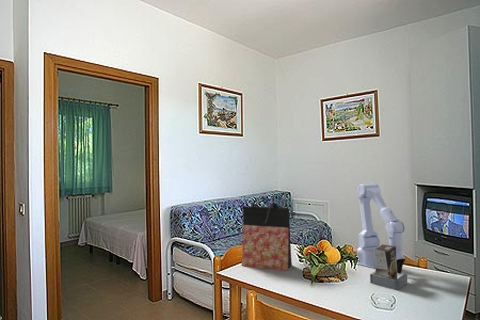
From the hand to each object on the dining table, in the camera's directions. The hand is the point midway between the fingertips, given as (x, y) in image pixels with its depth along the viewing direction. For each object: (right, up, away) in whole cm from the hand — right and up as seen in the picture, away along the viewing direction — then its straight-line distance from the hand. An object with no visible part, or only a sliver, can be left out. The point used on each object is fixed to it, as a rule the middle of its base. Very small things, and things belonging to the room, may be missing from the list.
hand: (396, 274), depth 148 cm
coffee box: (-7, -1, -6) cm, 9 cm away
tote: (-6, -2, -6) cm, 9 cm away
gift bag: (-59, -3, +20) cm, 62 cm away
